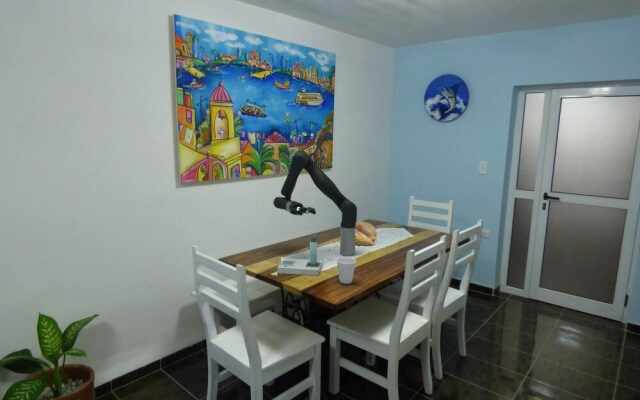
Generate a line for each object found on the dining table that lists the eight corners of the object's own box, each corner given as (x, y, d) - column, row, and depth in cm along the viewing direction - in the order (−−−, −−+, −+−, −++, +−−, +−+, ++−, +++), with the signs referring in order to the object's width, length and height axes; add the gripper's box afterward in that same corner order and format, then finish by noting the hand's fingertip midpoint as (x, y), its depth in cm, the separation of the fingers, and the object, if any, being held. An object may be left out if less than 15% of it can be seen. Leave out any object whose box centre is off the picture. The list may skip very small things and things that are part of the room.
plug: (310, 268, 206) (310, 235, 203) (317, 269, 205) (317, 235, 203) (308, 271, 202) (309, 236, 199) (316, 271, 202) (316, 237, 199)
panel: (284, 263, 214) (284, 257, 214) (322, 265, 211) (322, 259, 210) (277, 273, 199) (277, 266, 198) (318, 275, 195) (318, 269, 195)
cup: (332, 279, 190) (333, 258, 188) (350, 277, 194) (351, 256, 192) (340, 286, 181) (341, 264, 179) (359, 284, 184) (359, 262, 183)
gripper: (284, 202, 216) (297, 207, 203) (305, 200, 224) (319, 205, 211) (283, 214, 218) (297, 220, 204) (304, 213, 225) (319, 218, 212)
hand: (308, 213), depth 208 cm, fingers open, 8 cm apart
